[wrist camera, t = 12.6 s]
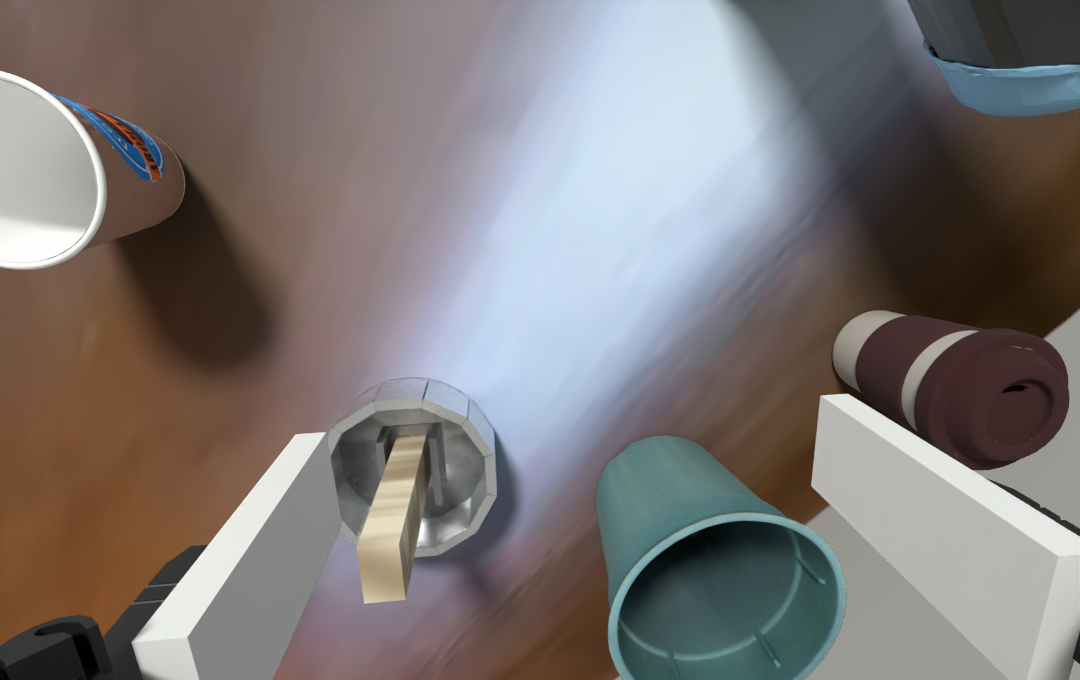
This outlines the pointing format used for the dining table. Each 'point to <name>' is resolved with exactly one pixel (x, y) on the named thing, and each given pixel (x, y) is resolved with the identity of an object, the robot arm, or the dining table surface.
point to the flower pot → (709, 572)
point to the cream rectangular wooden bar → (394, 522)
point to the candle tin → (453, 452)
